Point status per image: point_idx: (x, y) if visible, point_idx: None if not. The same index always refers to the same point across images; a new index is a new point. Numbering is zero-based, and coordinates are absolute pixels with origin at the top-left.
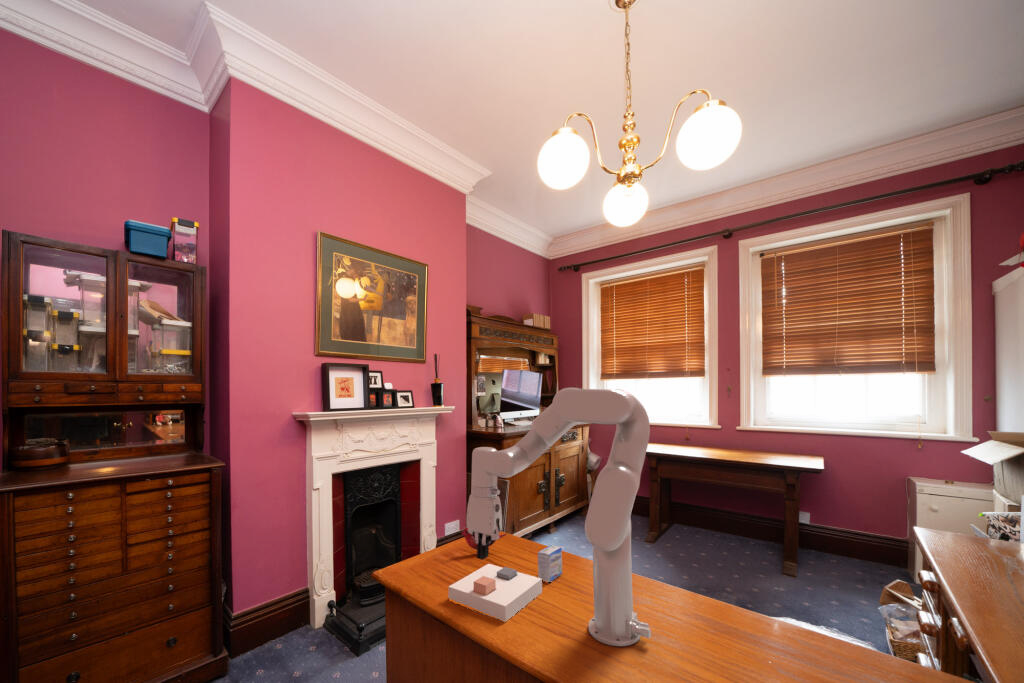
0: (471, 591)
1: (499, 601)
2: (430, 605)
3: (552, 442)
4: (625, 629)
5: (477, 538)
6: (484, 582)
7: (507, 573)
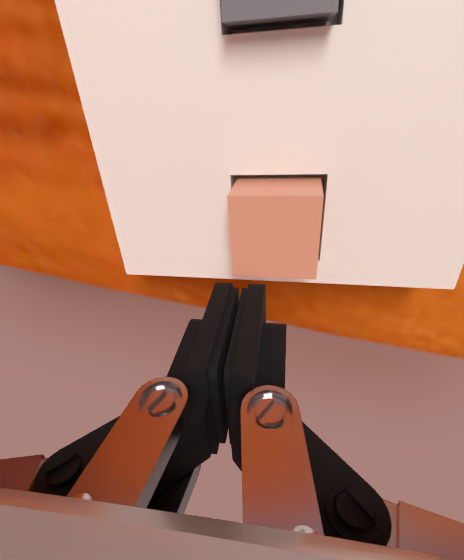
0: None
1: (406, 269)
2: (129, 292)
3: None
4: None
5: (176, 502)
6: (286, 255)
7: None
